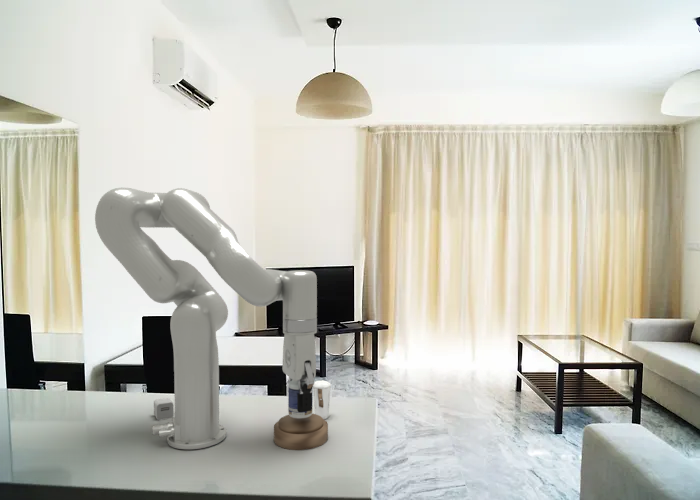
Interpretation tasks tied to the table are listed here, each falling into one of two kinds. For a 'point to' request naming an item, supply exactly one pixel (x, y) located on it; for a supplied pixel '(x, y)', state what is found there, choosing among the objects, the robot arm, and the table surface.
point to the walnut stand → (300, 432)
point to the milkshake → (322, 398)
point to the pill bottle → (292, 400)
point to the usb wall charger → (163, 408)
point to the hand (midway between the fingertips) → (300, 405)
